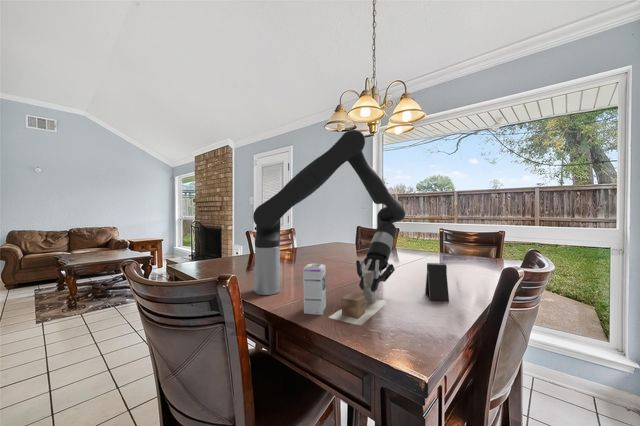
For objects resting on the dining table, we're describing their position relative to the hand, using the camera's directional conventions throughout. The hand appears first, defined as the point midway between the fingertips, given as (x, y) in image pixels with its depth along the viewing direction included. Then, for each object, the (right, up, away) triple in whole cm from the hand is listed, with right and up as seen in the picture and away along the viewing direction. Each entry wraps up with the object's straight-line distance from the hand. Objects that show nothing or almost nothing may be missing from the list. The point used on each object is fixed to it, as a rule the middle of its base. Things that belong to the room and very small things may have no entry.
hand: (367, 289), depth 86 cm
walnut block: (-5, -5, -8) cm, 11 cm away
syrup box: (-17, -6, -5) cm, 18 cm away
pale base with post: (-3, -6, -4) cm, 7 cm away
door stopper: (+26, -6, +10) cm, 29 cm away
